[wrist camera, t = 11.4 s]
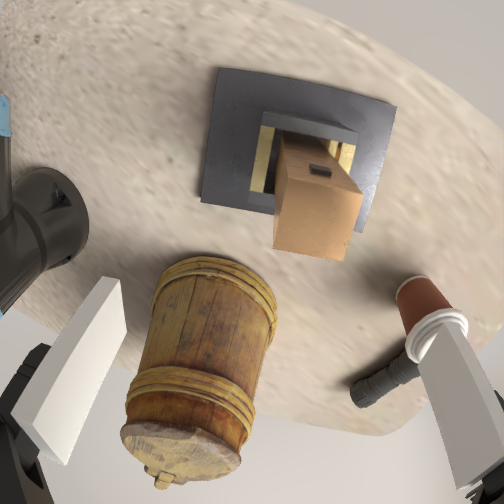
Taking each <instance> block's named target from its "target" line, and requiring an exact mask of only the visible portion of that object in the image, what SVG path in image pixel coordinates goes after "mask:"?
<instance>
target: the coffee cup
mask: <svg viewBox="0 0 504 504" xmlns="http://www.w3.org/2000/svg"><path fill="white" fill-rule="evenodd" d="M395 300H396V303H397V306H398V308H399V311H400V315H401V318H402V321H403V325H404V328H405V331H406V335H407V339H406V343H405V348H406V352H407V355H408V358H410V359H411V360H412V361H414V362H415V363H420V361H421V360H422V358H423V357H424V355H425V354H426V352H427V350H428V349H429V347H430V345H431V344H432V342H433V340H434V339H435V337H436V335H437V333H438V332H439V330H440V328H441V326H442V325H443V323H444V322H454V323H457V324H458V325H459V327H460V329H461V331H462V332H463V334H464V336H465V337H466V335H467V332H468V320H467V318H466V317H465V315H464V314H463V313H462V312H461V311H460V310H457V309H454V308H453V307H452V306H451V305H450V304H449V302H448V301H447V300H446V298H445V297H444V296H443V295H442V294H441V292H440V291H439V290H438V289H437V287H436V286H435V285H434V284H433V282H432V281H431V280H430V279H429V278H428V277H426V276H423V275H417V276H413V277H410V278H408V279H406V280H405V281H404V282H403V283H402V284H401V285H400V286H399V288H398V290H397V292H396V297H395ZM466 339H467V338H466Z"/></svg>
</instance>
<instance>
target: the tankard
mask: <svg viewBox="0 0 504 504" xmlns="http://www.w3.org/2000/svg"><path fill="white" fill-rule="evenodd" d="M276 310H277V303H276V299H275V296H274V294H273V292H272V291H271V289H270V287H269V286H268V284H267V283H266V282H264V281H263V280H262V279H261V278H260V277H259V276H258V275H256V274H255V273H254V272H253V271H251V270H249V269H248V268H246V267H245V266H243V265H241V264H239V263H236V262H233V261H231V260H227V259H221V258H215V257H205V256H200V257H193V258H189V259H185V260H182V261H180V262H178V263H176V264H174V265H172V266H170V267H169V268H168V269H167V270H165V271H164V272H163V274H162V275H161V277H160V280H159V282H158V285H157V288H156V291H155V294H154V298H153V301H152V305H151V313H150V314H151V316H152V320H151V324H150V327H149V331H148V335H147V339H146V343H145V347H144V350H143V354H142V358H141V362H140V365H139V369H138V373H137V375H136V377H135V378H134V379H133V381H132V382H131V384H130V389H129V391H128V394H127V401H126V403H125V407H126V414H127V421H126V424H125V425H124V426H123V427H122V428H121V431H120V436H121V440H122V443H123V444H124V446H125V447H126V449H127V450H128V451H129V452H130V453H131V454H132V455H133V456H134V457H135V458H137V459H138V460H139V461H141V462H142V463H143V464H145V467H144V470H145V472H146V473H148V474H149V475H151V476H153V477H155V483H154V486H155V487H156V488H157V489H160V490H163V489H167V488H168V486H169V485H170V483H173V484H178V485H184V484H185V483H186V482H187V481H209V480H213V479H218V478H221V477H223V476H225V475H227V474H229V473H231V472H233V471H234V470H235V469H236V468H237V467H238V466H240V464H241V457H240V455H239V452H240V449H241V446H243V445H244V444H245V443H246V442H247V440H248V439H249V437H250V434H251V430H252V425H253V421H254V418H255V408H254V406H253V400H254V396H255V391H256V387H257V384H258V380H259V376H260V372H261V367H262V364H263V360H264V356H265V352H266V350H267V349H268V348H269V346H270V345H271V342H272V340H273V337H274V335H275V329H276V327H277V315H276Z"/></svg>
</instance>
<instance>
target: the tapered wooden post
mask: <svg viewBox="0 0 504 504" xmlns="http://www.w3.org/2000/svg"><path fill="white" fill-rule="evenodd" d="M363 196H364V194H363V193H362V192H361V190H360V189H359V188H358V187H357V185H356V184H355V183H354V182H353V180H352V179H351V178H350V176H349V175H348V174H347V173H346V171H345V170H344V169H343V168H342V167H341V165H340V164H339V163H338V162H337V160H336V159H335V158H334V157H333V156H332V154H331V153H330V152H329V151H328V150H327V149H326V147H325V146H324V145H323V144H322V143H321V141H320V140H319V139H317V138H312V137H308V136H303V135H298V134H294V133H289V132H283V131H282V136H281V141H280V146H279V151H278V157H277V162H276V174H275V204H274V232H273V249H277V250H283V251H288V252H294V253H299V254H305V255H310V256H315V257H321V258H326V259H332V260H337V261H342V262H343V260H344V257H345V254H346V251H347V248H348V245H349V242H350V238H351V235H352V232H353V229H354V226H355V223H356V219H357V216H358V213H359V210H360V206H361V203H362V199H363Z"/></svg>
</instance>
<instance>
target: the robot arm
mask: <svg viewBox="0 0 504 504" xmlns="http://www.w3.org/2000/svg"><path fill="white" fill-rule="evenodd" d="M11 137H12V132H11V130H10V103H9V100H8V98H7V97H6V96H5V95H3V94H1V93H0V319H1V318H2V316H3V315H4V314H5V313H6V312H7V310H8V309H9V308H10V307H11V306H12V305H13V304H14V302H15V301H16V300H17V299H18V298H19V297H20V296H21V295H22V294H23V292H24V291H25V290H26V289H27V288H28V287H29V286H30V285H31V284H32V283H33V282H34V281H35V280H36V278H37V277H38V276H39V275H40V274H41V273H43V272H45V271H48V270H50V269H53V268H56V267H58V266H61V265H64V264H66V263H68V262H70V261H71V260H72V259H74V258H75V257H76V256H77V255H78V254H79V253H80V252H81V250H82V249H83V248H84V246H85V244H86V241H87V238H88V233H89V219H88V213H87V209H86V206H85V203H84V201H83V199H82V197H81V195H80V193H79V191H78V190H77V188H76V187H75V186H74V184H73V183H72V182H71V181H70V180H69V179H68V178H67V177H66V176H64V175H63V174H62V173H60V172H58V171H56V170H53V169H50V168H39V169H36V170H33V171H31V172H29V173H27V174H25V175H24V176H22V177H21V178H20V179H19V180H18V181H17V182H16V184H15V185H14V186H13V187H12V184H11V157H10V149H11ZM126 333H127V330H126V323H125V316H124V309H123V302H122V294H121V285H120V279H115V278H110V277H105V276H102V277H101V278H100V280H99V281H98V282H97V284H96V285H95V286H94V288H93V289H92V290H91V292H90V293H89V294H88V296H87V297H86V298H85V300H84V301H83V302H82V304H81V305H80V306H79V308H78V309H77V311H76V312H75V313H74V315H73V316H72V318H71V319H70V320H69V322H68V323H67V325H66V326H65V328H64V329H63V330H62V332H61V333H60V335H59V336H58V338H57V339H56V341H55V342H54V344H53V345H52V346H49V345H46V344H43V343H41V344H39V345H38V346H37V347H35V348H34V349H33V350H31V351H30V352H29V354H28V355H27V357H26V358H25V360H24V361H23V364H22V365H20V367H19V369H18V370H17V373H16V374H15V375H14V376H13V378H12V379H11V381H10V382H9V384H8V386H7V387H6V389H5V390H4V392H3V393H2V395H1V397H0V504H54V501H53V499H52V497H51V494H50V492H49V489H48V486H47V483H46V480H45V477H44V475H43V472H42V469H41V466H40V462H39V460H38V458H37V456H38V454H39V451H41V452H42V453H43V454H44V456H45V457H46V458H48V459H50V460H53V461H55V462H57V463H59V464H62V465H64V466H66V465H67V463H68V460H69V458H70V455H71V453H72V450H73V448H74V446H75V443H76V441H77V438H78V436H79V434H80V431H81V429H82V427H83V424H84V422H85V420H86V417H87V415H88V413H89V411H90V408H91V406H92V404H93V402H94V399H95V397H96V395H97V393H98V391H99V389H100V386H101V384H102V382H103V380H104V378H105V376H106V374H107V372H108V370H109V368H110V366H111V364H112V361H113V359H114V357H115V355H116V353H117V351H118V349H119V347H120V345H121V343H122V341H123V339H124V337H125V335H126ZM417 367H418V370H419V372H420V375H421V377H422V380H423V383H424V385H425V388H426V391H427V394H428V396H429V399H430V402H431V405H432V408H433V411H434V414H435V417H436V420H437V423H438V426H439V429H440V432H441V435H442V439H443V442H444V445H445V448H446V451H447V455H448V459H449V462H450V466H451V469H452V473H453V477H454V481H455V484H456V489H457V490H461V489H464V488H467V487H470V486H472V485H474V484H475V483H477V482H478V481H479V480H481V479H482V482H483V483H482V484H481V485H480V486H478V487H477V488H475V489H474V490H472V491H471V492H469V493H468V494H467V496H466V497H465V498H469V497H470V496H472V495H473V494H475V493H476V494H475V496H473V497H472V498H471V499H470V500H471V501H473V502H472V504H504V400H503V398H502V397H501V396H500V395H499V394H498V393H497V391H496V390H493V388H492V386H491V384H490V382H489V380H488V378H487V376H486V374H485V372H484V370H483V368H482V367H481V365H480V363H479V361H478V359H477V357H476V355H475V353H474V352H473V350H472V348H471V346H470V344H469V343H468V341H467V339H466V337H465V336H464V334H463V332H462V331H461V329H460V327H459V325H458V324H457V323H454V322H444V323H443V325H442V326H441V328H440V330H439V332H438V333H437V335H436V337H435V339H434V340H433V342H432V344H431V345H430V347H429V349H428V350H427V352H426V354H425V355H424V357H423V358H422V360H421V361H420V363H419V365H418V366H417Z"/></svg>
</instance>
